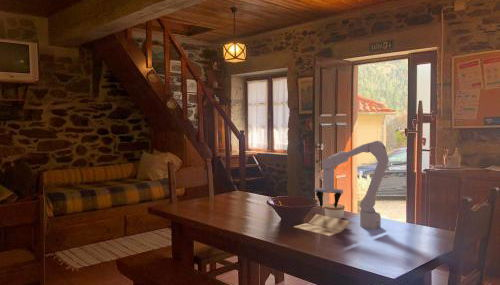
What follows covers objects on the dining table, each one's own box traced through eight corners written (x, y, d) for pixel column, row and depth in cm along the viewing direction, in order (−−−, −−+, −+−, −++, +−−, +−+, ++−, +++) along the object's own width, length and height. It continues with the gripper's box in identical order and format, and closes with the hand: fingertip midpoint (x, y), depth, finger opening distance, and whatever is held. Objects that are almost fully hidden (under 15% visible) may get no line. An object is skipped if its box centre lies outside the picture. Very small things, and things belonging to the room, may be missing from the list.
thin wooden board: (342, 234, 187) (342, 231, 187) (329, 238, 180) (329, 235, 180) (306, 225, 203) (306, 223, 203) (293, 229, 196) (293, 226, 196)
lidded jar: (321, 220, 212) (321, 203, 212) (327, 216, 222) (327, 200, 221) (341, 223, 207) (341, 205, 207) (346, 218, 217) (346, 201, 216)
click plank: (349, 222, 193) (349, 220, 192) (341, 233, 188) (340, 231, 188) (317, 215, 207) (316, 214, 207) (308, 225, 203) (307, 223, 202)
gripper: (344, 180, 203) (344, 206, 204) (317, 178, 210) (317, 203, 211) (340, 182, 197) (340, 208, 198) (313, 180, 204) (313, 206, 205)
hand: (328, 206), depth 204 cm, fingers open, 7 cm apart
